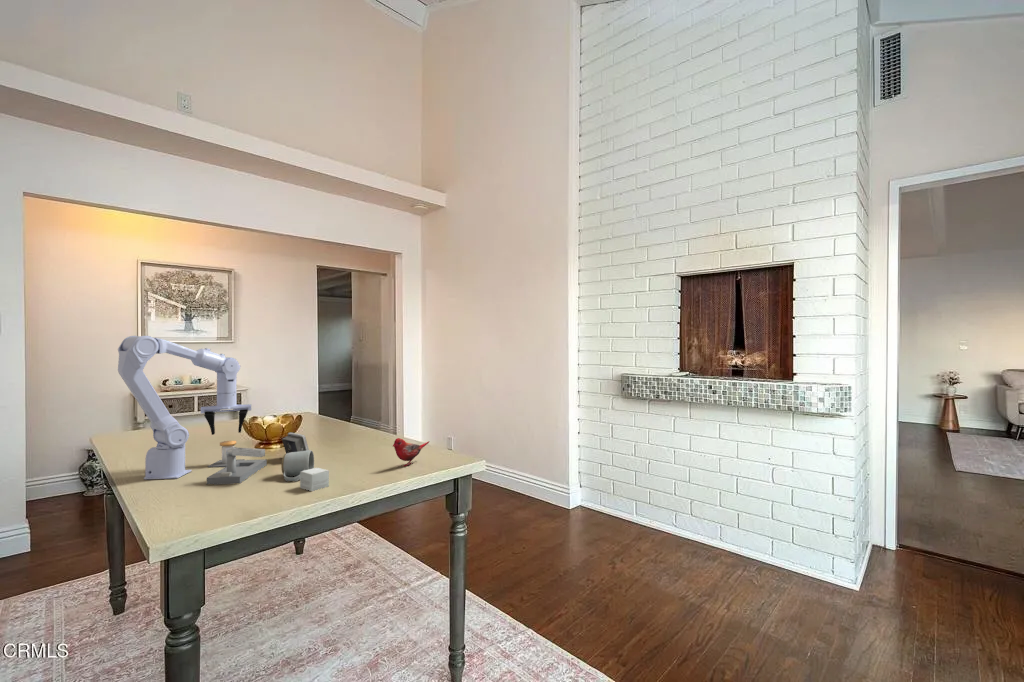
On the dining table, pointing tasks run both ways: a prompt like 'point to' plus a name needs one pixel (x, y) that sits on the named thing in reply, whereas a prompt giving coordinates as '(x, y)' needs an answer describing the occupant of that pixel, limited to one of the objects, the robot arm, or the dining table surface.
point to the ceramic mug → (296, 464)
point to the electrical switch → (295, 443)
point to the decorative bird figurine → (407, 450)
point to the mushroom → (225, 445)
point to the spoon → (245, 452)
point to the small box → (314, 479)
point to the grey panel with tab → (236, 471)
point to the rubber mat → (220, 464)
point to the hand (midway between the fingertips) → (226, 433)
